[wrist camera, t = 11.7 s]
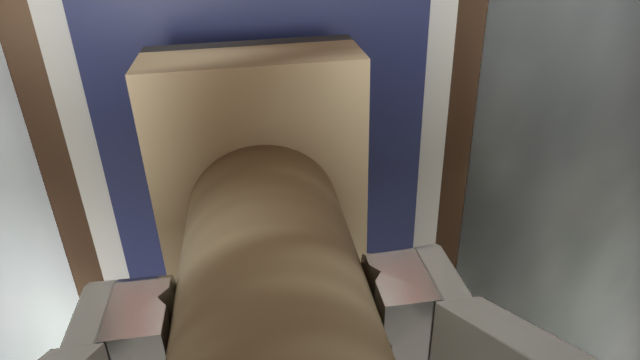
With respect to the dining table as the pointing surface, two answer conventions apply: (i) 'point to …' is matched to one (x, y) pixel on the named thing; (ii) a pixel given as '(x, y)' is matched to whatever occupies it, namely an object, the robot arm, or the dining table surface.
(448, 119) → the stamping board
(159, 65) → the wooden stamp
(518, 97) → the dining table surface
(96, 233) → the ink pad
